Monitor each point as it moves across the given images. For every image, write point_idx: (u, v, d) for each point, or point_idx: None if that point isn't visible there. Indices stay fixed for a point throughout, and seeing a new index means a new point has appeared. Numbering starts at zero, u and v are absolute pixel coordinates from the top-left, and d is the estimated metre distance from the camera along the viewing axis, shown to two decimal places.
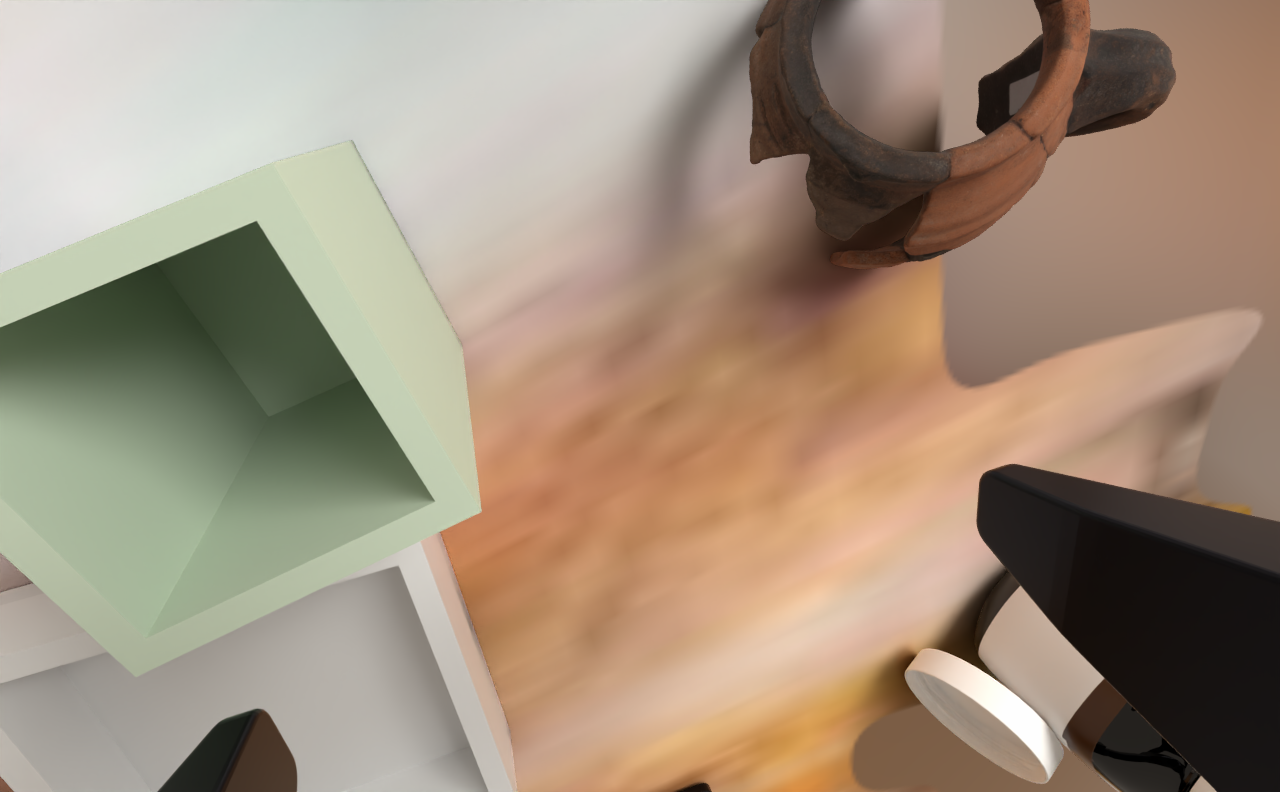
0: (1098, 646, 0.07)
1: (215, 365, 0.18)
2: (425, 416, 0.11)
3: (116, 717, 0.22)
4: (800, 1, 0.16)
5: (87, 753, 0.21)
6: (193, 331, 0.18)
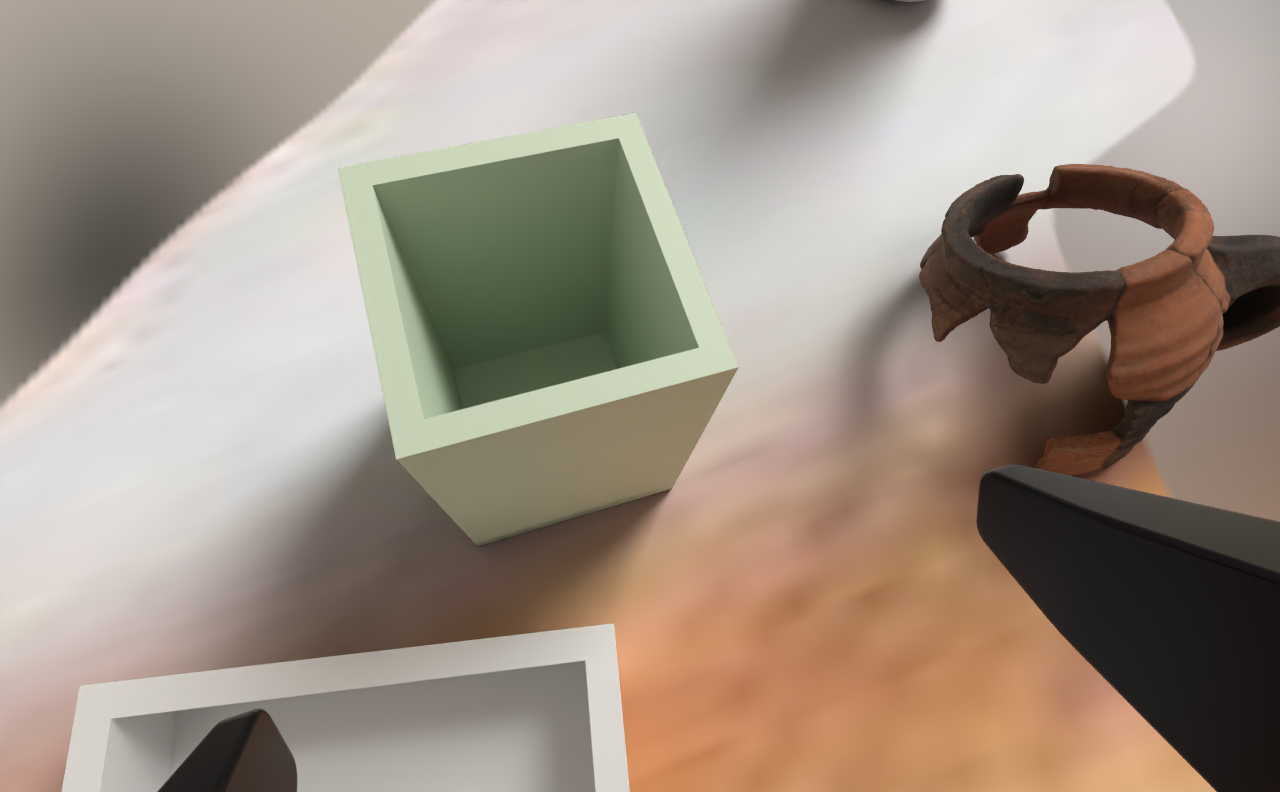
0: (1098, 646, 0.07)
1: None
2: (700, 278, 0.14)
3: None
4: (954, 219, 0.22)
5: None
6: None
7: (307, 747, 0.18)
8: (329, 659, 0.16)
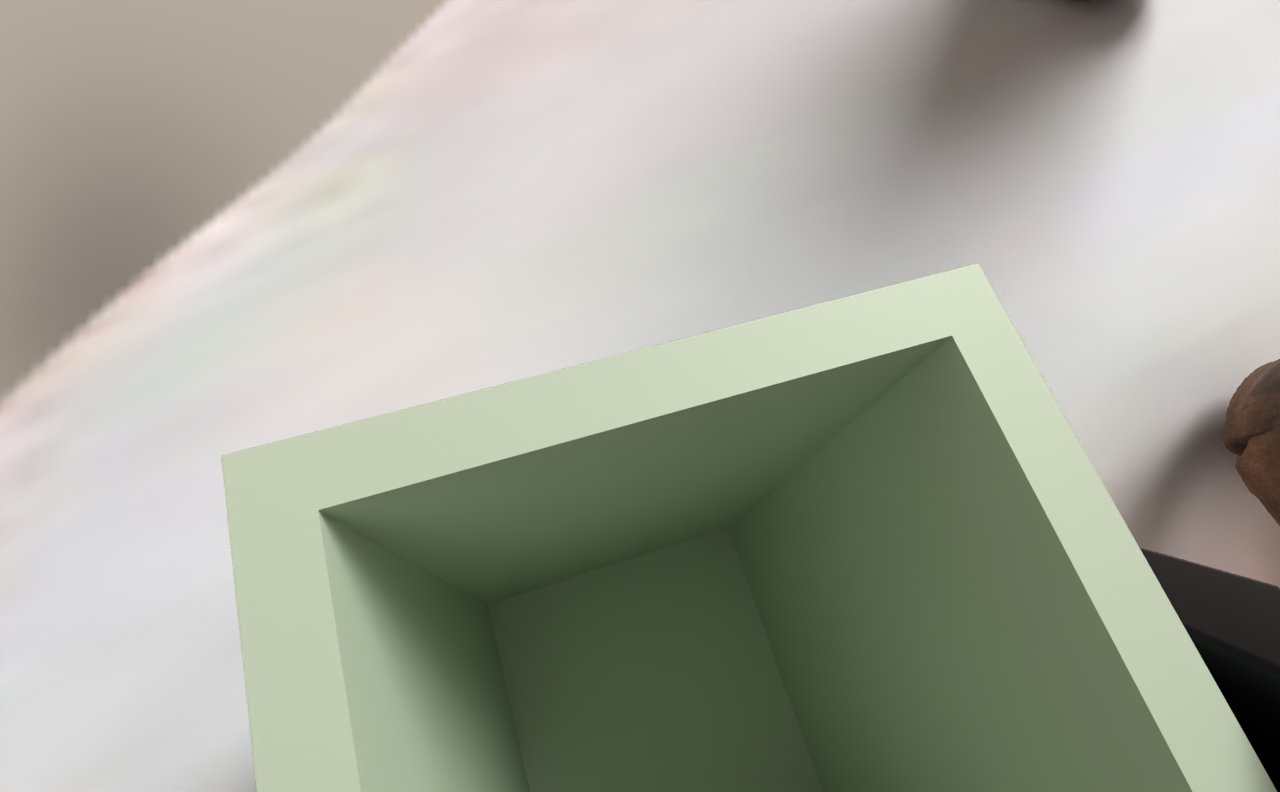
0: None
1: (522, 780, 0.12)
2: (1260, 781, 0.05)
3: None
4: None
5: None
6: (509, 719, 0.12)
7: None
8: None
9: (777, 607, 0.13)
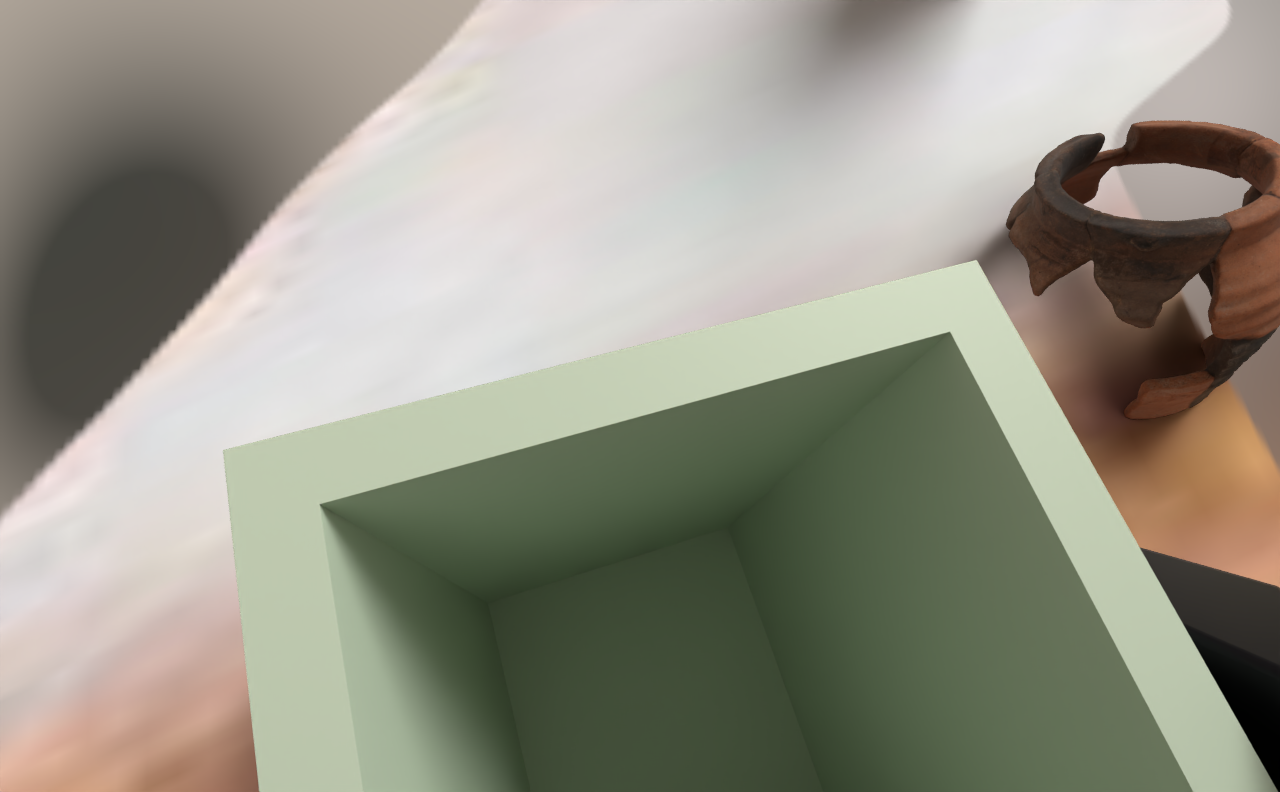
0: None
1: (522, 778, 0.12)
2: (1256, 774, 0.05)
3: None
4: (1046, 178, 0.23)
5: None
6: (510, 717, 0.12)
7: None
8: None
9: (777, 606, 0.13)
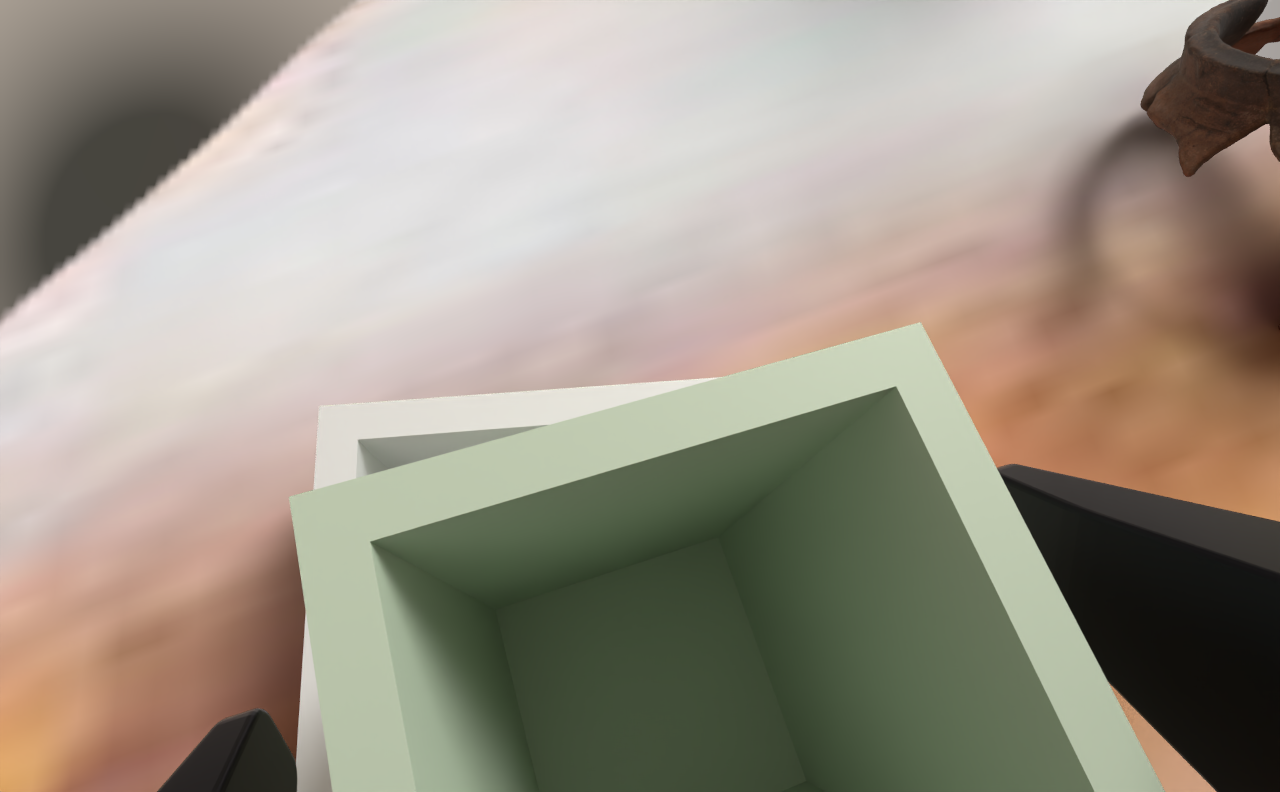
0: (1098, 646, 0.07)
1: (529, 771, 0.13)
2: (1139, 756, 0.06)
3: None
4: (1202, 37, 0.19)
5: None
6: (517, 715, 0.13)
7: None
8: (589, 390, 0.14)
9: (763, 610, 0.14)
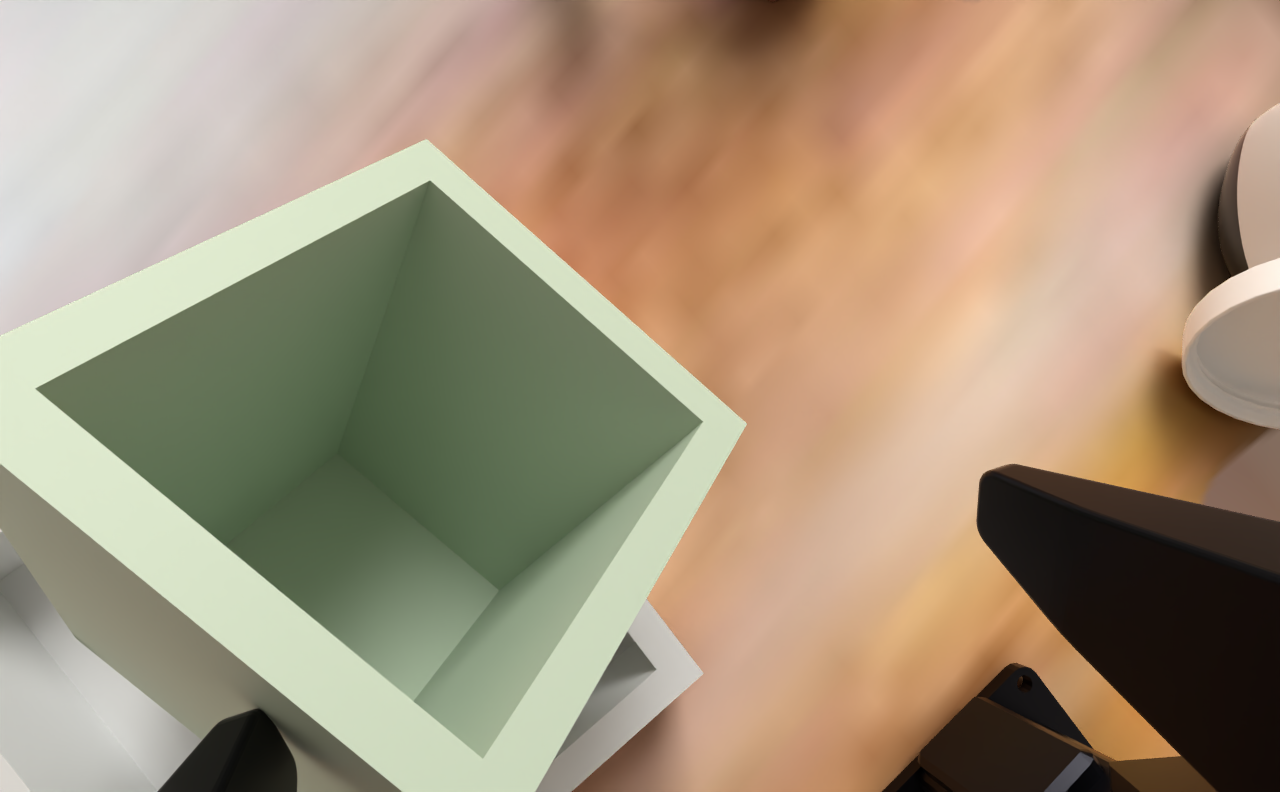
0: (1098, 646, 0.07)
1: None
2: (642, 336, 0.10)
3: (126, 715, 0.16)
4: None
5: (81, 753, 0.15)
6: None
7: None
8: None
9: (406, 478, 0.15)
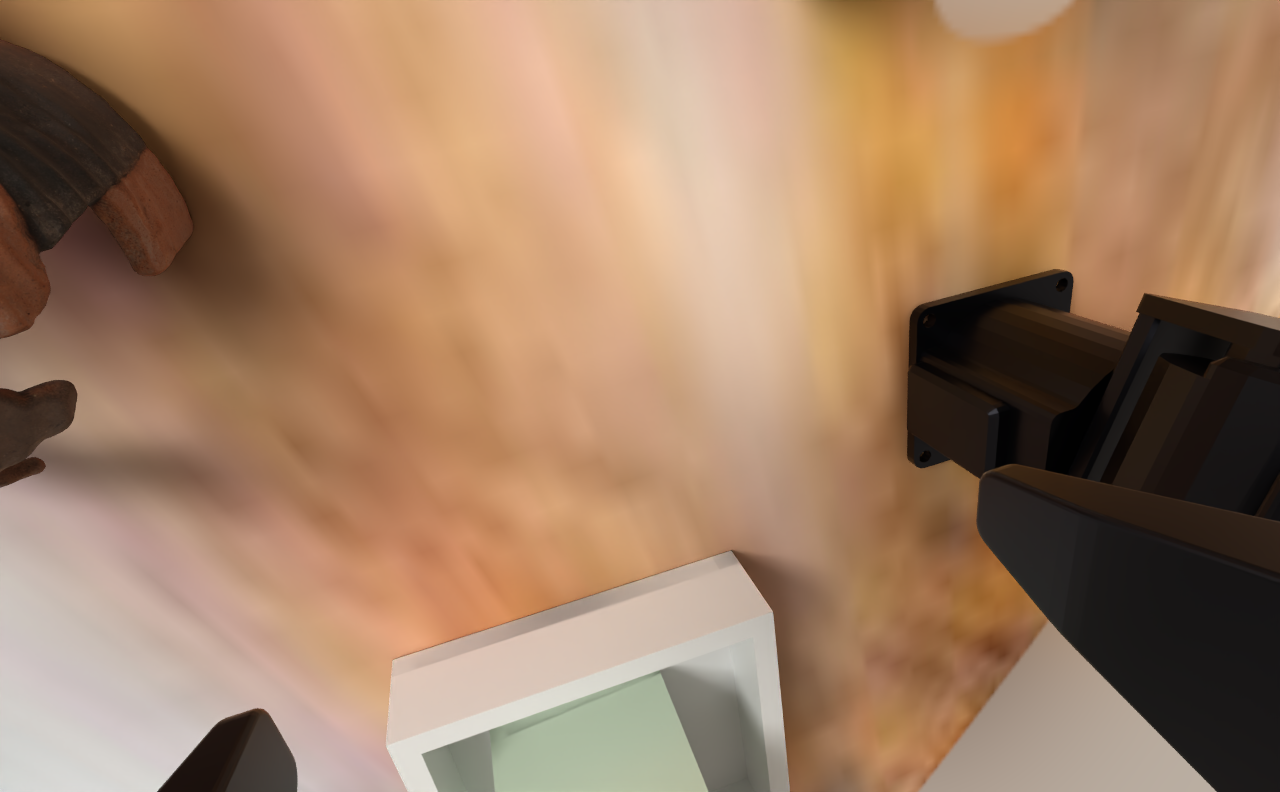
0: (1098, 646, 0.07)
1: None
2: None
3: None
4: None
5: None
6: None
7: None
8: None
9: None
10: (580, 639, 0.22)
